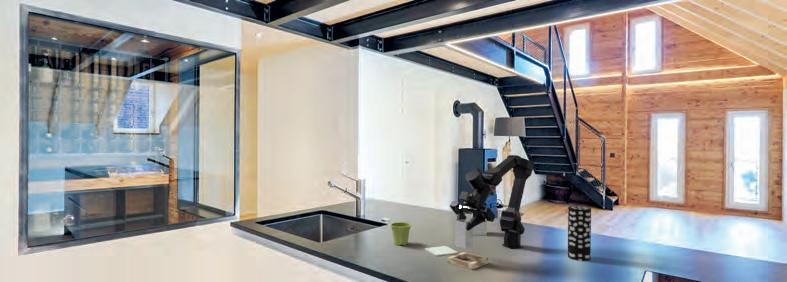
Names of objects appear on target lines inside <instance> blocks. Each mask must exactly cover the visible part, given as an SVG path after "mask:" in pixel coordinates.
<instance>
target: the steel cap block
mask: <svg viewBox="0 0 787 282" xmlns="http://www.w3.org/2000/svg"><path fill="white" fill-rule="evenodd" d="M470 221H471V219H467V218H466V219H460V220H457V219H456V220H455V222H454V224H455V225H454V227H455V228H454V229H455V231H454V234H455V237H454V238H455V239H454V246H455V247H457V248H461V249H464V250H467V249H470V248H473V247H474V235H473V228H472V229H470V230H469V231H468V230H467V226H468V224H469V222H470Z"/></svg>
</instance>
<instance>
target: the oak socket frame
mask: <svg viewBox="0 0 787 282" xmlns="http://www.w3.org/2000/svg"><path fill="white" fill-rule="evenodd" d="M465 259H467V260H471V261H466V260H465ZM447 264H450V265H453V266H458V267H461V268H464V269H466V270H467V269H468V270H470V271H471V270H476V269H478V268H480V267H482V266H485V265H488V264H489V257H486V256H482V255H479V254H475V253H470V252H467V251H464V252H460V253H457V254H453V255H451V256H448V257H447Z"/></svg>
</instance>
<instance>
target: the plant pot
mask: <svg viewBox="0 0 787 282" xmlns="http://www.w3.org/2000/svg"><path fill="white" fill-rule="evenodd" d="M389 224H390V228H391V231H392V238H393V244H394V245H396V246H401V245H402V246H406V245H408V243H409V238H410V236H409V235H410V230H411V227H412V224H411V223H409V222H405V221H404V222H403V221H397V222H392V223H389Z"/></svg>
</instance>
